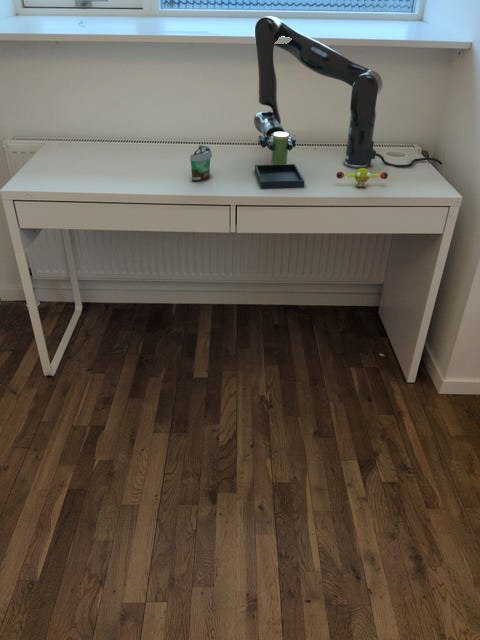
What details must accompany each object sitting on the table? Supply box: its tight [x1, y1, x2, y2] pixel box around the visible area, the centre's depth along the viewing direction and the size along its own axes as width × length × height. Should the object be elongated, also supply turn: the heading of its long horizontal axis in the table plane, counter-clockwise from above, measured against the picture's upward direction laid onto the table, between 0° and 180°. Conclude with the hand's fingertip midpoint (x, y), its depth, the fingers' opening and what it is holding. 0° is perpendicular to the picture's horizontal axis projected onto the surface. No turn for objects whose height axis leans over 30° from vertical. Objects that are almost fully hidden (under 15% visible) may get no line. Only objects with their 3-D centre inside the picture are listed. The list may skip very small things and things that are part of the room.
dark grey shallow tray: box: [254, 163, 305, 190], centre depth 195 cm, size 15×17×2 cm
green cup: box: [270, 131, 290, 165], centre depth 190 cm, size 6×6×10 cm
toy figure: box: [336, 167, 389, 188], centre depth 189 cm, size 18×6×7 cm, turn 90°
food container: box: [189, 144, 213, 183], centre depth 194 cm, size 12×6×10 cm, turn 168°
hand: (281, 147), depth 187 cm, fingers closed on green cup, 5 cm apart
